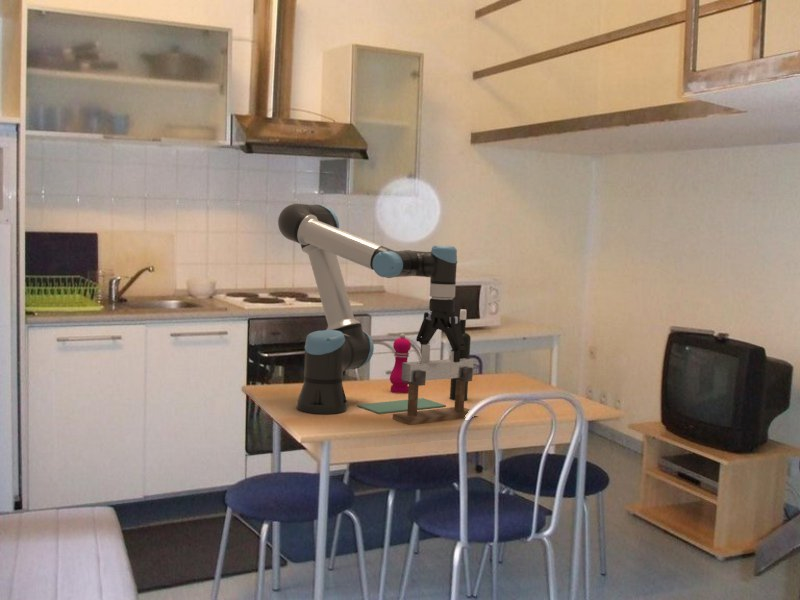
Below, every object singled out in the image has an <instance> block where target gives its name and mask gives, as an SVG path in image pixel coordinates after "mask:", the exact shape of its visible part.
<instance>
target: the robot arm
mask: <svg viewBox="0 0 800 600" xmlns="http://www.w3.org/2000/svg"><path fill="white" fill-rule="evenodd" d="M338 218H339V217H338V216H337V215H336V213H335V211H333V210H332V209H331V208H329V207H327V206H325V205H321V204H307V203H305V204H304V203H292V204H289V205H287V206H286V207H284V208H283V209H282V210H281V212H280V213H279V215H278V219H277V225H278V230H279V232H280V234H281V235H282V236H283V237H284V238H285V239H287V240H289V241H291V242H295V243H298V244H300V247H301V251H302V252H304V253H306V254H307V255H308V258H309V261H310V266H311V268H312V272H313V276H314V280H315V283H316V287H317V292H318V294H319V298H320V301H321V305H322V308H323V313H324V316H325V319H326V323H327V328H326V329H324V330H316V331H312V332H310V333H308V334H307V336H306V338H305V344H304V371H303V384H302V388H301V390H300V392H299V396H298V398H297V402H296V409H297V410H299V411H301V412H305V413H310V414H317V415H318V414H320V415H325V414H326V415H328V414H329V415H330V414H331V415H332V414H339V413H344V412H346V411H348V401H347V400H348V399H347V396H346V393H345V390H344V386H343V377H344V375H343V373H344V372H345V371H350V370H356V369H359V368H361V367H364V366H366V364H368V363H369V362H370V360H371V359H372V356H373V355H374V349H375V347H374V341H373V339H372V337H371V336H370V335H369V334H368V333H367V332H366V331H364V330H363V327H362V323H361V322H360V321H358V320H357V319H355V316H354V312H353V309H352V306H351V302H350V299H349V294H348V291H347V287H346V284H345V281H344V277H343V274H342V270H341V267H340V263H339V259H338V257H339V258H340V257H341V258H343V259H346V260H348V261H350V262H352V263H355V264H357V265H360V266H363V267H365V268H367V269H370V270H371V271H373V272H375V274H376V275H377V276H378V277H381V278H386V279H392V278H402V277H421V278H422V277H423V278H424V277H425V278H430V281H429V282H430V283H429V297H431V298H429V301H428V302H429V304H428V310H429V311H427V312H426V311H425V312H424V313H423V319H422V322H421V324H420V327H419V330H418V333H417V336H416V339H415V340H416V342H418V343H419V344H420V356H421V357H420V361H431V359H430V358H431V342H430V341H431V340H432V338H433V337H434V335H435V333H436V332H437V330H440V331H442V332H443V333H444V334H445V336H446V338H447V341H448V342H449V345H450V347H451V350H450V352H449V353H450V357H449V358H450V373H451V374H452V373H458V370H459V362H460V351H461V350H464V349H466V346H465V342H464V338H463V334H462V331H461V327H460V316H453V312H455V309H456V308H455V307H456V300H455V298H456V283H457V282H456V279H457V267H458V266H457V265H458V252H457V248H456V247H455V246H454V245H453V246H451V245H433V246H432V247H431V249H430V251H421V250H420V251H419V250H417V251H416V250H406V249H405V250H394V249H391V248H388V247H385V246H384V245H381V244H379V243H376V242H373V241H371V240H368V239H365V238H363V237H360V236H358V235H356V234H353V233H351V232H348V231H346V230H343V229H342V228H341V229H340V222H339V219H338ZM460 345H461V346H460Z"/></svg>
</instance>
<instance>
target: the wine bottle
mask: <svg viewBox="0 0 800 600" xmlns="http://www.w3.org/2000/svg"><path fill="white" fill-rule="evenodd" d="M459 318H460V327H461V331H462V334H463V338H464V342H465V346H466V349H464V350H461V351H460V359H462V358H466V359H470V358H471V357H470V356H471V340H472V339H471V338H472V337H471V335H470V334H469V333H466V325H467V309H466V308H465V309H462V308H461V309H460V311H459ZM460 346H461V345H460ZM468 386H469V381H467V382H465V396H464V401H468V391H469V387H468ZM449 390H450V393H449V399H450V400H452V401H455V391H456V379H453V378H451V379H450V387H449Z"/></svg>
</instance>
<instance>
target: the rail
mask: <svg viewBox="0 0 800 600" xmlns="http://www.w3.org/2000/svg"><path fill="white" fill-rule="evenodd" d="M474 362H475V361H474V360H473V359H470V358H469V359H466V358H462V359H460V362H459V370H458V373H452V374H451V373H450V359H435V360H430V361H421V360H420V361H419V360H418V361H407V362H404V363H402V380H405V381H408V382H415V374H416V372H417V371H426V380H425V382H426V381H439V380H448V379H449V380H451V378H462V377H463V368H469V367H471V368H473V369H474ZM473 377H474V374H473V375H472V378H473Z"/></svg>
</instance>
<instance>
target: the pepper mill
mask: <svg viewBox="0 0 800 600" xmlns="http://www.w3.org/2000/svg"><path fill="white" fill-rule="evenodd" d="M392 345H393V350H394V355H393V356H394V358H395V361H394V365H393V368H392V370H391V372H390V376H389V381H390V383H391V384H392V385H390V392H391V393H394V394H395V393H396V394H408V392H409V383H405V382H402V381H403V380H402V363H404V362H408V358H409V357H410V352H409V351H410V350H411V348H412V343H411V341H410V340H409V339H408V338H406V334H405V333H400V335H399V337H397V338H396V339H395V340H394V341H393V344H392Z"/></svg>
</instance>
